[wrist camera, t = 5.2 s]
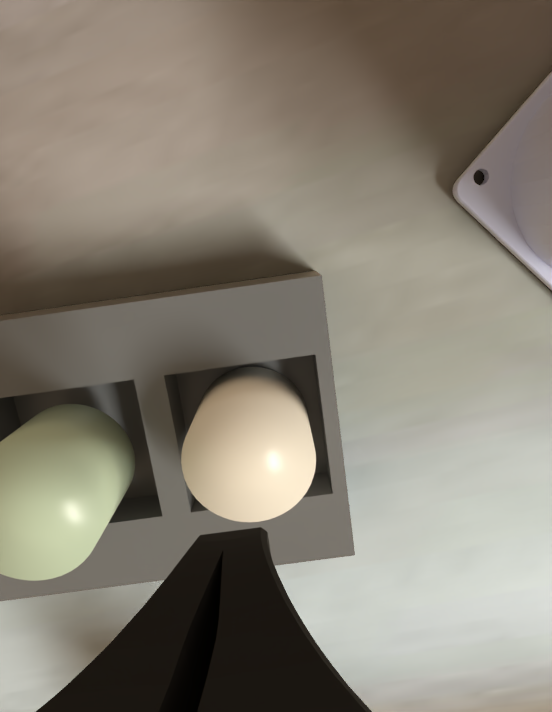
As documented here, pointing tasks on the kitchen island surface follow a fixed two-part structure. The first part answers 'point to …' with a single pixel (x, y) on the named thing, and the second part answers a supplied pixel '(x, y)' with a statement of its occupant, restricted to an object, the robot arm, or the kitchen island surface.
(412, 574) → the kitchen island surface
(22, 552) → the sage button
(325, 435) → the grey slotted tray
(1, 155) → the kitchen island surface
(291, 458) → the cream rounded block
